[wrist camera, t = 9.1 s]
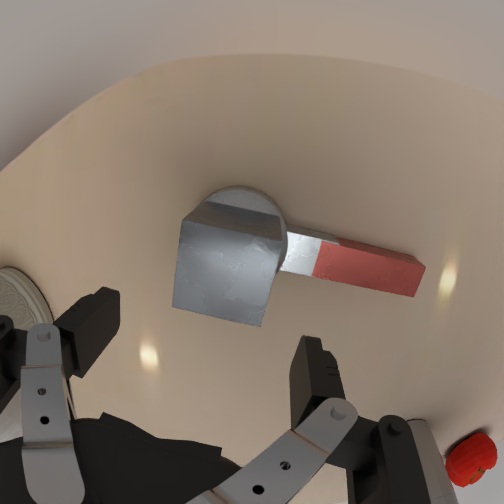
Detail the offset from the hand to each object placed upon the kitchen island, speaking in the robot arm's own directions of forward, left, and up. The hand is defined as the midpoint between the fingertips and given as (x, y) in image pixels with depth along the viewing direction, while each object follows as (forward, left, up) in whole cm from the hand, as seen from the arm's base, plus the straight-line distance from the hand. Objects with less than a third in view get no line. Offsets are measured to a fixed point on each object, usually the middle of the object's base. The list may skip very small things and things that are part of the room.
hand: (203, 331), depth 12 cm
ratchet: (-6, -2, -15) cm, 16 cm away
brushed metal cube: (0, 0, -12) cm, 12 cm away
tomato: (-58, +12, -15) cm, 61 cm away
